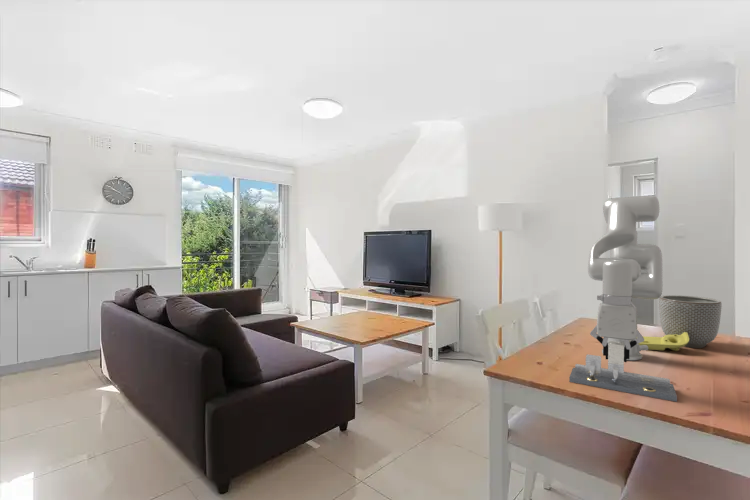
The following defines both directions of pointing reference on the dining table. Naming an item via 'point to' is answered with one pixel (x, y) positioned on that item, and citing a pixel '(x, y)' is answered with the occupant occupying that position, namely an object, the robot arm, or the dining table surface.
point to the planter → (690, 318)
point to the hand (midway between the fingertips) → (616, 359)
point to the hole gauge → (621, 380)
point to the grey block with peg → (616, 358)
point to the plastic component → (666, 342)
